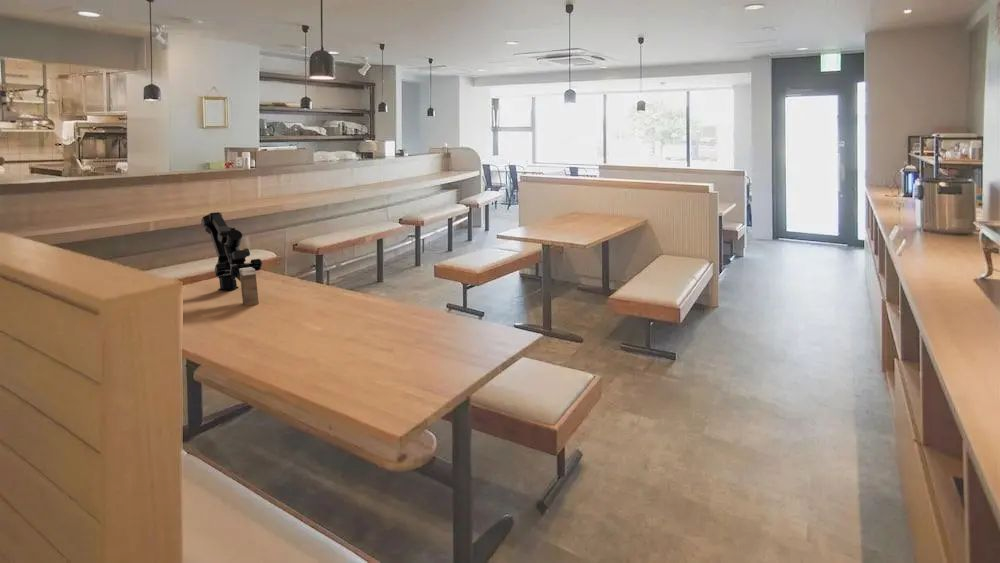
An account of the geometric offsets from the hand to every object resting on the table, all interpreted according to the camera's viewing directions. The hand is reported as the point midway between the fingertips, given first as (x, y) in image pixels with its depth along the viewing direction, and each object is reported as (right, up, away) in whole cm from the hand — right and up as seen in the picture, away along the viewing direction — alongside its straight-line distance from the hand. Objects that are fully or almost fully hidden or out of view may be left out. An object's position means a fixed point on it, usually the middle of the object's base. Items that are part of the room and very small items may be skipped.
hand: (244, 283), depth 267 cm
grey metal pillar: (+4, -9, -3) cm, 10 cm away
